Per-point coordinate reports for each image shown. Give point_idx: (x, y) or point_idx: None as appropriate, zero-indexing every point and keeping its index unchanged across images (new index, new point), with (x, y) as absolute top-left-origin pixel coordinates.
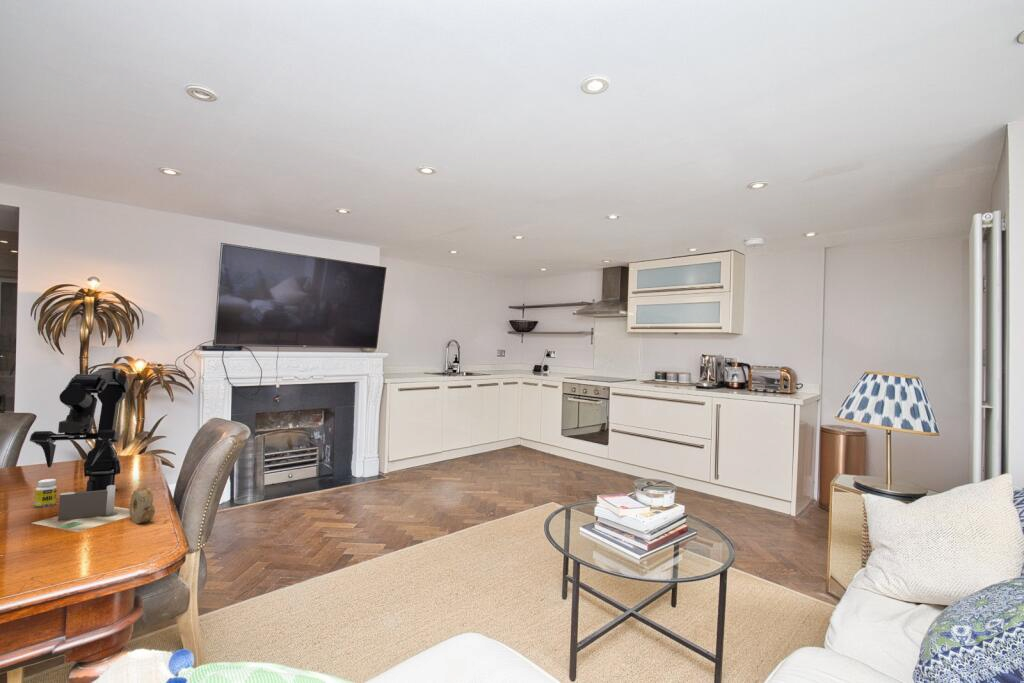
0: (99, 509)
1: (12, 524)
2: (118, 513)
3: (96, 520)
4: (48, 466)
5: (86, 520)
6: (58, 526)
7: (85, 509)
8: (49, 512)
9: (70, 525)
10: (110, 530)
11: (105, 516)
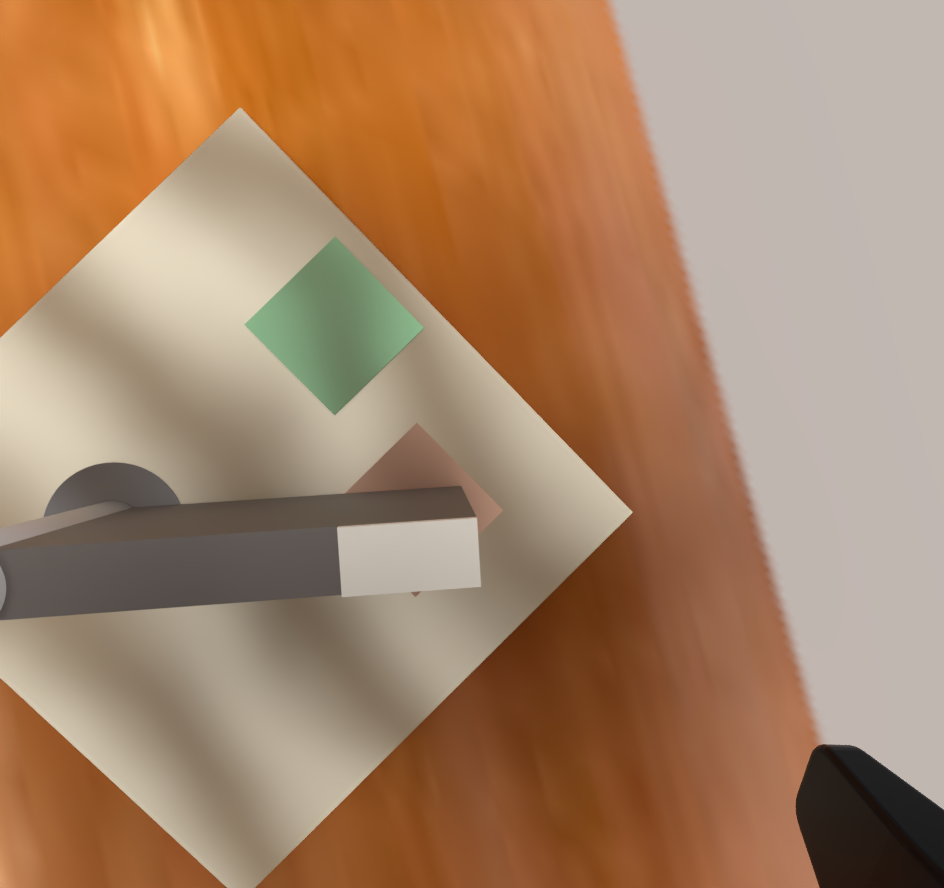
0: (157, 512)
1: (754, 587)
2: None
3: (174, 385)
4: (842, 750)
5: (252, 419)
6: (414, 319)
7: (264, 508)
8: (602, 843)
9: (333, 306)
10: (23, 111)
11: (127, 476)
